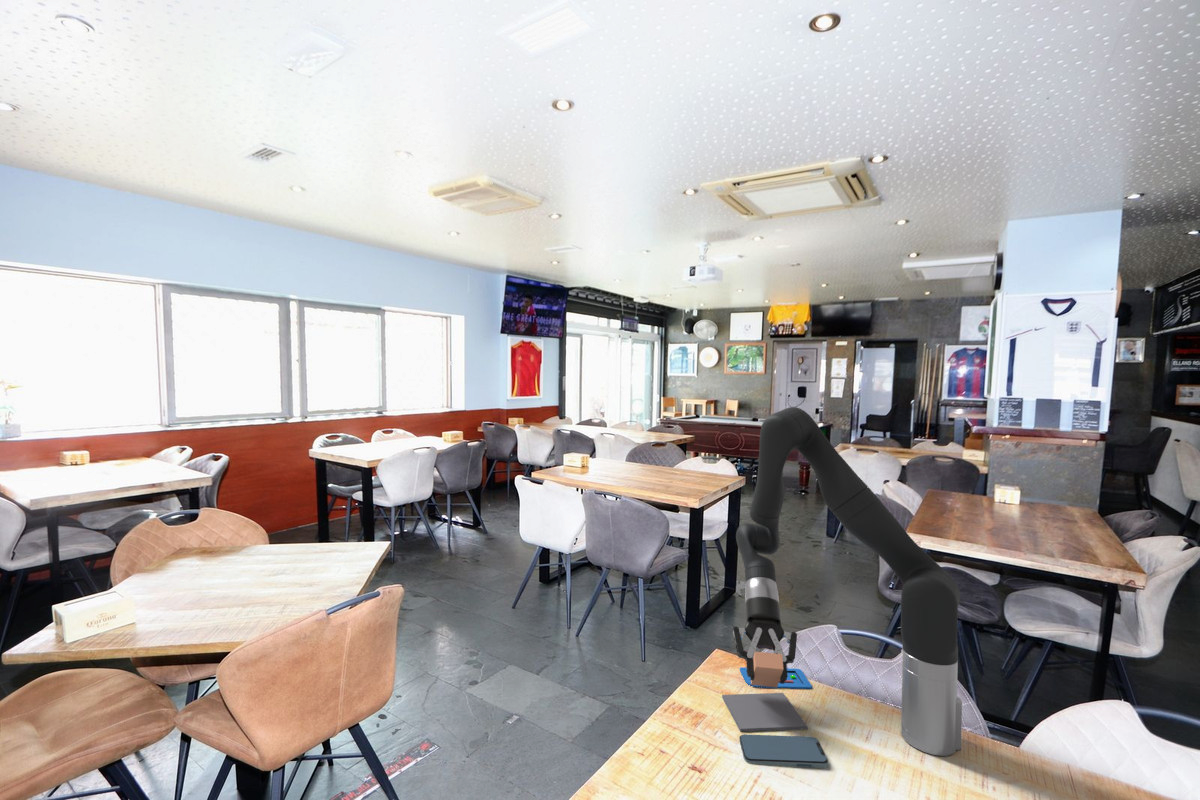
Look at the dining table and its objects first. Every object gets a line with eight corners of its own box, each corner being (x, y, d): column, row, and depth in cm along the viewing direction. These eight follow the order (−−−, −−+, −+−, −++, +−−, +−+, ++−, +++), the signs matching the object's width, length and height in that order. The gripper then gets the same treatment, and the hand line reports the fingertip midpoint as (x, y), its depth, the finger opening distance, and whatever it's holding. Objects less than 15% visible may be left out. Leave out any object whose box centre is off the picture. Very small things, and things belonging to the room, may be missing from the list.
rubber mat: (783, 695, 120) (783, 692, 120) (807, 729, 108) (807, 726, 108) (722, 697, 119) (722, 694, 119) (740, 731, 107) (740, 728, 107)
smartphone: (738, 732, 105) (816, 735, 104) (738, 741, 105) (816, 744, 104) (745, 759, 98) (829, 762, 97) (745, 768, 98) (829, 771, 97)
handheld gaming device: (739, 666, 131) (800, 667, 131) (739, 670, 131) (800, 671, 131) (747, 684, 123) (813, 686, 123) (747, 689, 123) (813, 690, 123)
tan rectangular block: (775, 673, 119) (782, 654, 111) (776, 687, 117) (783, 669, 109) (750, 670, 120) (754, 651, 112) (751, 684, 118) (755, 666, 110)
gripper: (731, 592, 122) (733, 671, 111) (796, 598, 120) (806, 679, 108) (729, 606, 128) (731, 682, 116) (792, 611, 125) (800, 690, 114)
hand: (767, 680), depth 112 cm, fingers closed on tan rectangular block, 5 cm apart
